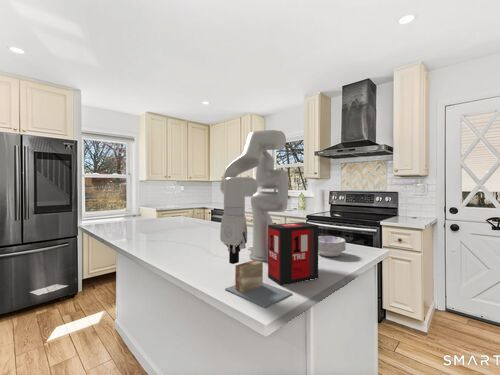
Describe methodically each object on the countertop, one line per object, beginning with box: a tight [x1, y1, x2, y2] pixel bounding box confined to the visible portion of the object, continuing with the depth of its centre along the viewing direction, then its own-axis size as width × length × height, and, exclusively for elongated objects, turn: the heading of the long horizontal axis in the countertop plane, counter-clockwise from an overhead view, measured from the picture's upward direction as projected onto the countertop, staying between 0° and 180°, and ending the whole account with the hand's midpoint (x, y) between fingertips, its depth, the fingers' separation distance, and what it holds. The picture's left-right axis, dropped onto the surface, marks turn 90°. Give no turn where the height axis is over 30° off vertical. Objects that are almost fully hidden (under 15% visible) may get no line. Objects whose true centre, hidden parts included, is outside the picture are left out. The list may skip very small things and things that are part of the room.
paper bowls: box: [318, 235, 347, 258], centre depth 132 cm, size 15×15×8 cm
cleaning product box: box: [267, 221, 319, 287], centre depth 99 cm, size 16×9×20 cm, turn 115°
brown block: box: [234, 259, 264, 293], centre depth 89 cm, size 4×9×8 cm, turn 135°
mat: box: [224, 282, 293, 309], centre depth 86 cm, size 18×13×1 cm
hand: (234, 262), depth 94 cm, fingers closed
